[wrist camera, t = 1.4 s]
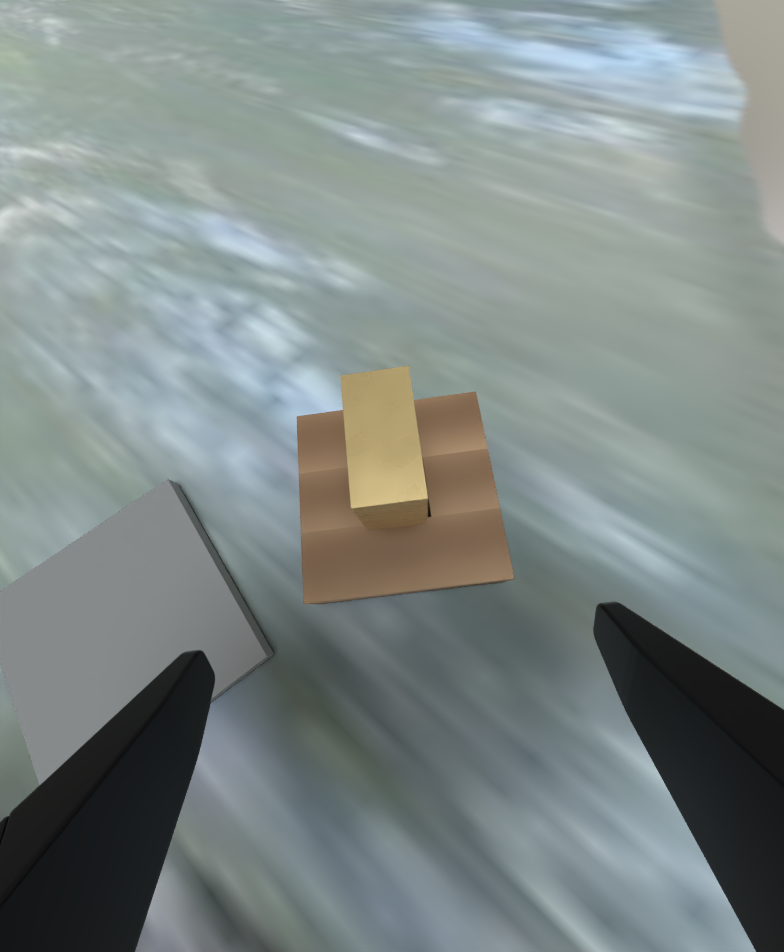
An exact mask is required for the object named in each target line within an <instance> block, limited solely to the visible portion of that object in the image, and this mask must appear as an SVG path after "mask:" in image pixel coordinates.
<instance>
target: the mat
mask: <svg viewBox="0 0 784 952" xmlns="http://www.w3.org/2000/svg"><path fill="white" fill-rule="evenodd" d="M193 650H202V651H203V652H204V653H205V655H206V657H207V659H208V661H209V663H210V665H211V666H212V668H213V670H214V673H215V685H214V690H213V694H212V699H211V702H212V701H214V700H215V699H216V698H218V697H219V696H220V695H222V694H223V693H224V692H225V691H227V690H228V689H229V688H231V687H232V686H233V685H235V684H236V683H237V682H239V681H240V680H241V679H243V678H244V677H245V676H246V675H248V674H249V673H250V672H252V671H253V670H254V669H256V668H257V667H258V666H260V665H261V664H262V663H264V662H265V661H266V660H267V659H269V658H270V657H271V656H273V655H274V653H273V651H272V650H271V648H270V646H269V644H268V643H267V641H266V639H265V637H264V635H263V634H262V632H261V630H260V628H259V627H258V625H257V623H256V621H255V620H254V618H253V616H252V614H251V612H250V611H249V609H248V607H247V605H246V604H245V602H244V600H243V598H242V597H241V595H240V593H239V591H238V590H237V588H236V586H235V584H234V582H233V581H232V579H231V577H230V575H229V574H228V572H227V570H226V568H225V567H224V565H223V563H222V561H221V559H220V558H219V556H218V554H217V552H216V551H215V549H214V547H213V545H212V544H211V542H210V540H209V538H208V537H207V535H206V533H205V531H204V529H203V528H202V526H201V524H200V522H199V521H198V519H197V517H196V515H195V514H194V512H193V510H192V508H191V506H190V505H189V503H188V501H187V499H186V498H185V496H184V494H183V492H182V491H181V489H180V487H179V485H178V484H177V483H175V482H173V481H171V480H169V479H167V480H166V481H164V482H163V483H161V484H160V485H158V486H157V487H155V488H154V489H152V490H151V491H149V492H148V493H146V494H145V495H143V496H142V497H140V498H139V499H137V500H136V501H134V502H133V503H131V504H130V505H128V506H127V507H125V508H124V509H122V510H121V511H119V512H118V513H116V514H115V515H113V516H112V517H110V518H109V519H107V520H106V521H104V522H103V523H101V524H100V525H98V526H97V527H95V528H94V529H92V530H91V531H89V532H88V533H86V534H85V535H83V536H82V537H80V538H79V539H77V540H76V541H74V542H73V543H71V544H70V545H68V546H67V547H65V548H64V549H62V550H61V551H59V552H58V553H56V554H55V555H53V556H52V557H50V558H49V559H47V560H46V561H44V562H43V563H41V564H40V565H38V566H37V567H35V568H34V569H32V570H31V571H29V572H28V573H26V574H25V575H23V576H22V577H20V578H19V579H17V580H16V581H14V582H13V583H11V584H10V585H8V586H7V587H6V588H4V589H3V590H1V591H0V665H1V669H2V672H3V675H4V678H5V681H6V684H7V687H8V690H9V693H10V696H11V699H12V702H13V705H14V708H15V711H16V715H17V718H18V721H19V724H20V727H21V730H22V733H23V736H24V739H25V742H26V745H27V748H28V751H29V754H30V757H31V761H32V764H33V767H34V770H35V773H36V776H37V779H38V782H39V785H40V784H42V783H43V782H44V781H45V780H46V779H47V778H48V777H49V776H50V775H51V774H52V773H53V772H54V771H56V770H57V769H58V768H59V767H60V766H61V765H62V764H63V763H64V762H65V761H66V760H67V759H68V758H69V757H71V756H72V755H73V754H74V753H75V752H76V751H77V750H78V749H79V748H80V747H81V746H82V745H83V744H85V743H86V742H87V741H88V740H89V739H90V738H91V737H92V736H93V735H94V734H95V733H96V732H97V731H99V730H100V729H101V728H102V727H103V726H104V725H105V724H106V723H107V722H108V721H109V720H110V719H111V718H112V717H114V716H115V715H116V714H117V713H118V712H119V711H120V710H121V709H122V708H123V707H124V706H125V705H126V704H128V703H129V702H130V701H131V700H132V699H133V698H134V697H135V696H136V695H137V694H138V693H139V692H140V691H141V690H143V689H144V688H145V687H146V686H147V685H148V684H149V683H150V682H151V681H152V680H153V679H154V678H155V677H157V676H158V675H159V674H160V673H161V672H162V671H163V670H164V669H165V668H166V667H167V666H168V665H169V664H171V663H172V662H173V661H174V660H175V659H176V658H177V657H178V656H179V655H180V654H182V653H183V652H186V651H193Z"/></svg>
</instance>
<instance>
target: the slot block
mask: <svg viewBox="0 0 784 952" xmlns="http://www.w3.org/2000/svg"><path fill="white" fill-rule="evenodd" d="M414 406H415V413H416V420H417V427H418V434H419V440H420V447H421V454H422V461H423V468H424V474H425V481H426V488H427V495H428V514H429V517H427V523H426V524H419V525H411V526H403V527H395V528H387V529H379V530H371V531H368V530H367V529H366V527H365V526H364V525H363V524H362V522H361V521H360V520H359V518H358V517H357V516H356V514H355V513H354V512H353V510H352V509H351V502H350V489H349V477H348V464H347V452H346V439H345V426H344V414H343V410H340V411H333V412H326V413H319V414H311V415H304V416H297V436H298V464H299V491H300V519H301V546H302V574H303V602H304V604H325V603H334V602H342V601H350V600H359V599H367V598H376V597H384V596H392V595H401V594H409V593H417V592H426V591H434V590H442V589H451V588H459V587H467V586H476V585H484V584H493V583H501V582H505V581H508V580H512V579H515V578H514V573H513V569H512V564H511V559H510V554H509V549H508V545H507V540H506V535H505V530H504V525H503V520H502V516H501V511H500V506H499V501H498V496H497V491H496V487H495V482H494V477H493V472H492V467H491V462H490V458H489V453H488V448H487V443H486V438H485V434H484V429H483V424H482V419H481V414H480V409H479V405H478V400H477V395H476V392H469V393H462V394H455V395H448V396H441V397H433V398H426V399H419V400H414Z"/></svg>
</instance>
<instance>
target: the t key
mask: <svg viewBox="0 0 784 952" xmlns="http://www.w3.org/2000/svg"><path fill="white" fill-rule="evenodd" d="M341 389H342V401H343V414H344V426H345V439H346V452H347V464H348V477H349V489H350V502H351V509H352V510H353V512H354V513H355V514H356V516H357V517H358V518H359V520H360V521H361V522H362V524H363V525H364V526H365V527H366V529H367V530H368V531H371V530H379V529H387V528H395V527H403V526H411V525H419V524H426V523H427V516H428V495H427V488H426V481H425V474H424V468H423V461H422V454H421V447H420V440H419V434H418V427H417V420H416V413H415V406H414V400H413V393H412V386H411V379H410V372H409V366H405V367H398V368H391V369H384V370H377V371H370V372H363V373H356V374H349V375H342V376H341Z"/></svg>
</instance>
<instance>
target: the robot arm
mask: <svg viewBox="0 0 784 952" xmlns="http://www.w3.org/2000/svg"><path fill="white" fill-rule="evenodd" d="M593 632H594V637H595V640H596V643H597V645H598V648H599V650H600V652H601V655H602V657H603V659H604V662H605V664H606V666H607V669H608V671H609V674H610V676H611V678H612V681H613V683H614V685H615V688H616V690H617V692H618V695H619V697H620V700H621V702H622V704H623V706H624V708H625V711H626V713H627V715H628V716H629V718H630V720H631V722H632V724H633V726H634V728H635V730H636V732H637V733H638V735H639V737H640V739H641V741H642V743H643V744H644V746H645V748H646V750H647V752H648V754H649V755H650V757H651V759H652V761H653V763H654V765H655V766H656V768H657V770H658V772H659V774H660V776H661V777H662V779H663V781H664V783H665V785H666V787H667V789H668V790H669V792H670V794H671V796H672V798H673V800H674V801H675V803H676V805H677V807H678V809H679V811H680V812H681V814H682V816H683V818H684V820H685V822H686V823H687V825H688V827H689V829H690V831H691V833H692V835H693V836H694V838H695V840H696V842H697V844H698V846H699V847H700V849H701V851H702V853H703V855H704V857H705V858H706V860H707V862H708V864H709V866H710V868H711V869H712V871H713V873H714V875H715V877H716V879H717V880H718V882H719V884H720V886H721V888H722V890H723V892H724V893H725V895H726V897H727V899H728V901H729V903H730V904H731V906H732V908H733V910H734V912H735V914H736V915H737V917H738V919H739V921H740V923H741V925H742V926H743V928H744V930H745V932H746V934H747V936H748V938H749V939H750V941H751V943H752V945H753V947H754V949H755V950H756V952H784V709H782V708H781V707H779V706H777V705H776V704H774V703H773V702H771V701H770V700H768V699H767V698H765V697H764V696H762V695H761V694H759V693H757V692H756V691H754V690H753V689H751V688H750V687H748V686H747V685H745V684H744V683H742V682H741V681H739V680H737V679H736V678H734V677H733V676H731V675H730V674H728V673H727V672H725V671H724V670H722V669H721V668H719V667H717V666H716V665H714V664H713V663H711V662H710V661H708V660H707V659H705V658H704V657H702V656H701V655H699V654H698V653H696V652H694V651H693V650H691V649H690V648H688V647H687V646H685V645H684V644H682V643H681V642H679V641H678V640H676V639H674V638H673V637H671V636H670V635H668V634H667V633H665V632H664V631H662V630H661V629H659V628H658V627H656V626H654V625H653V624H651V623H650V622H648V621H647V620H645V619H644V618H642V617H641V616H639V615H638V614H636V613H634V612H633V611H631V610H630V609H628V608H627V607H625V606H624V605H622V604H620V603H618V602H606V603H600V604H598V605H597V607H596V613H595V620H594V628H593ZM214 685H215V673H214V670H213V668H212V666H211V665H210V663H209V661H208V659H207V657H206V655H205V653H204V652H203V651H202V650H193V651H186V652H183V653H182V654H180V655H179V656H178V657H177V658H176V659H175V660H174V661H173V662H172V663H171V664H169V665H168V666H167V667H166V668H165V669H164V670H163V671H162V672H161V673H160V674H159V675H158V676H157V677H155V678H154V679H153V680H152V681H151V682H150V683H149V684H148V685H147V686H146V687H145V688H144V689H143V690H141V691H140V692H139V693H138V694H137V695H136V696H135V697H134V698H133V699H132V700H131V701H130V702H129V703H128V704H126V705H125V706H124V707H123V708H122V709H121V710H120V711H119V712H118V713H117V714H116V715H115V716H114V717H112V718H111V719H110V720H109V721H108V722H107V723H106V724H105V725H104V726H103V727H102V728H101V729H100V730H99V731H97V732H96V733H95V734H94V735H93V736H92V737H91V738H90V739H89V740H88V741H87V742H86V743H85V744H83V745H82V746H81V747H80V748H79V749H78V750H77V751H76V752H75V753H74V754H73V755H72V756H71V757H69V758H68V759H67V760H66V761H65V762H64V763H63V764H62V765H61V766H60V767H59V768H58V769H57V770H56V771H54V772H53V773H52V774H51V775H50V776H49V777H48V778H47V779H46V780H45V781H44V782H43V783H42V784H40V785H39V786H38V787H37V788H36V789H35V790H34V791H33V792H32V793H31V794H30V795H29V796H28V797H26V798H25V799H24V800H23V801H22V802H21V803H20V804H19V805H18V806H17V807H16V808H15V809H14V810H12V812H11V813H10V816H7V817H5V818H4V819H3V820H2V821H1V822H0V952H135V950H136V947H137V944H138V940H139V937H140V934H141V931H142V928H143V925H144V922H145V919H146V916H147V913H148V910H149V907H150V904H151V900H152V897H153V894H154V891H155V888H156V885H157V882H158V879H159V876H160V873H161V870H162V867H163V864H164V860H165V857H166V854H167V851H168V848H169V845H170V842H171V839H172V836H173V833H174V830H175V827H176V824H177V820H178V817H179V814H180V811H181V808H182V805H183V802H184V799H185V796H186V793H187V790H188V787H189V783H190V780H191V777H192V774H193V771H194V768H195V765H196V761H197V758H198V755H199V751H200V747H201V743H202V739H203V734H204V730H205V725H206V721H207V716H208V712H209V708H210V703H211V699H212V694H213V690H214Z"/></svg>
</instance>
